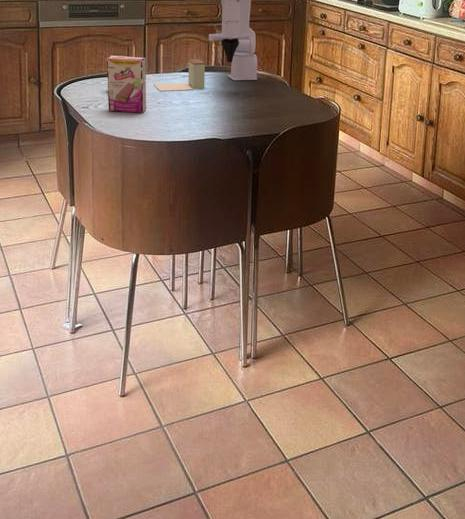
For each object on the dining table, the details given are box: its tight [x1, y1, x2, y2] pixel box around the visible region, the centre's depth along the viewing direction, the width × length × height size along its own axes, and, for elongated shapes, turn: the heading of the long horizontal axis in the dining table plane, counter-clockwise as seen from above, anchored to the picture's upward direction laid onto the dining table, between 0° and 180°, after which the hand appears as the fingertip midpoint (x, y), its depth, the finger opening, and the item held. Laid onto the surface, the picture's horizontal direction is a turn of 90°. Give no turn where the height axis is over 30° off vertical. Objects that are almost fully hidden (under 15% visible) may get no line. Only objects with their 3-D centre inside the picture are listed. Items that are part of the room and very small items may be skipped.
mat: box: [153, 82, 194, 92], centre depth 259 cm, size 12×10×1 cm
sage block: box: [188, 58, 206, 90], centre depth 259 cm, size 4×7×9 cm, turn 18°
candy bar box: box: [106, 55, 147, 114], centre depth 225 cm, size 11×5×16 cm, turn 84°
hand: (229, 61), depth 251 cm, fingers closed
